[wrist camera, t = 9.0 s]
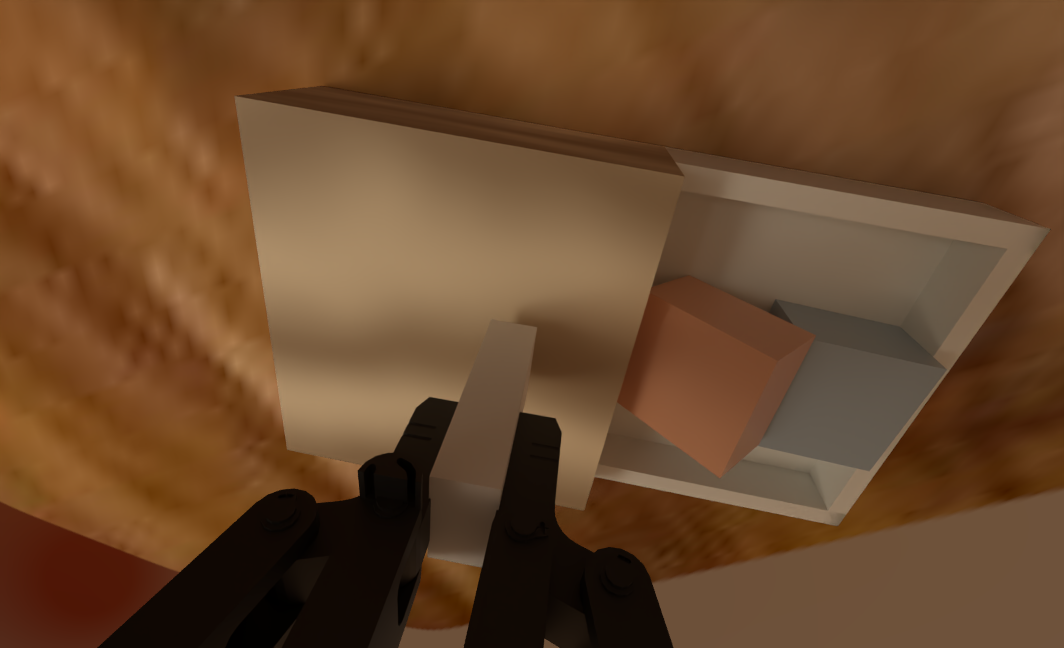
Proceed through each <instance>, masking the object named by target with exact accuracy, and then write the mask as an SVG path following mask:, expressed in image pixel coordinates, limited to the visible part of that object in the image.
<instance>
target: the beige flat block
mask: <svg viewBox="0 0 1064 648" xmlns="http://www.w3.org/2000/svg"><path fill="white" fill-rule="evenodd" d="M235 103H236V110H237V116H238V123H239V130H240V136H241V143H242V150H243V157H244V163H245V170H246V177H247V183H248V190H249V197H250V203H251V210H252V217H253V224H254V230H255V237H256V244H257V250H258V257H259V264H260V270H261V277H262V284H263V291H264V297H265V304H266V311H267V317H268V324H269V331H270V338H271V344H272V351H273V358H274V364H275V371H276V378H277V384H278V391H279V398H280V405H281V411H282V418H283V425H284V431H285V438H286V445H287V450H291V451H296V452H301V453H306V454H311V455H316V456H321V457H325V458H330V459H335V460H340V461H345V462H350V463H355V464H359V465H363V464H364V463H365V462H366V461H368V460H370V459H371V458H373V457H375V456H377V455H381V454H385V453H393V452H394V450H395V448H396V446H397V444H398V442H399V440H400V438H401V436H403V432H404V430H405V428H406V426H407V424H409V421H410V419H411V417H412V415H413V413H414V411H415V409H416V407H417V406H419V405H420V404H421V403H422V402H424V401H425V400H426V399H427V398H429V397H433V398H439V399H445V400H450V401H456V402H459V400H460V397H461V395H462V392H463V390H464V387H465V385H466V382H467V380H468V377H469V375H470V372H471V370H472V367H473V364H474V362H475V359H476V357H477V354H478V352H479V349H480V347H481V344H482V342H483V339H484V337H485V334H486V331H487V329H488V326H489V324H490V321H491V319H492V320H498V321H504V322H510V323H516V324H522V325H527V326H533V327H537V332H536V338H535V345H534V351H533V358H532V364H531V371H530V377H529V384H528V390H527V396H526V401H525V406H524V410H523V412H524V413H529V414H535V415H541V416H546V417H552V418H556V420H557V422H558V425H559V427H560V429H561V432H562V437H561V448H560V458H559V468H558V479H557V489H556V499H555V505H559V506H564V507H568V508H573V509H578V510H583V511H584V509H585V506H586V503H587V499H588V496H589V493H590V489H591V486H592V483H593V479H594V476H595V473H596V469H597V466H598V463H599V459H600V456H601V453H602V450H603V446H604V443H605V440H606V436H607V433H608V430H609V426H610V423H611V420H612V416H613V413H614V410H615V407H616V403H617V400H618V397H619V393H620V390H621V387H622V383H623V380H624V377H625V373H626V370H627V367H628V363H629V360H630V357H631V354H632V350H633V347H634V344H635V340H636V337H637V334H638V330H639V327H640V324H641V320H642V317H643V314H644V311H645V307H646V304H647V301H648V297H649V294H650V291H651V287H652V284H653V281H654V277H655V274H656V271H657V267H658V264H659V261H660V258H661V254H662V251H663V248H664V244H665V241H666V238H667V234H668V231H669V228H670V224H671V221H672V218H673V214H674V211H675V208H676V205H677V201H678V198H679V195H680V191H681V188H682V185H683V181H684V178H685V176H684V174H683V173H682V171H681V170H680V168H679V167H678V166H677V164H676V163H675V161H674V160H673V158H672V157H671V155H670V154H669V152H668V151H667V149H666V148H665V146H659V145H653V144H648V143H642V142H636V141H631V140H625V139H619V138H614V137H608V136H603V135H597V134H591V133H586V132H580V131H574V130H569V129H563V128H557V127H552V126H546V125H540V124H535V123H529V122H523V121H518V120H512V119H506V118H501V117H495V116H489V115H484V114H478V113H472V112H467V111H461V110H455V109H450V108H444V107H438V106H433V105H427V104H421V103H416V102H410V101H404V100H399V99H393V98H388V97H382V96H376V95H371V94H365V93H359V92H354V91H348V90H342V89H337V88H331V87H325V86H317V87H308V88H300V89H291V90H282V91H274V92H265V93H256V94H248V95H239V96H235Z"/></svg>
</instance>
